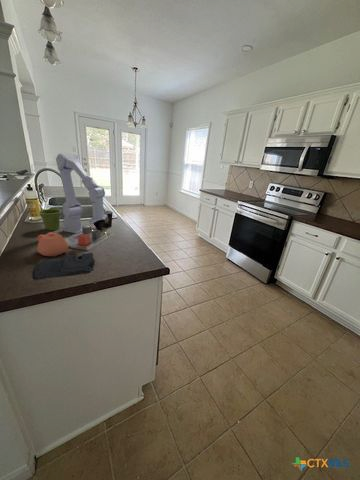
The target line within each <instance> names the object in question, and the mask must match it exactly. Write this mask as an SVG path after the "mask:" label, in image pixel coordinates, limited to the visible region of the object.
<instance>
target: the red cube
mask: <svg viewBox="0 0 360 480" xmlns="http://www.w3.org/2000/svg"><path fill="white" fill-rule="evenodd" d="M78 243H79V244H80V245H87V244H89V243H90V235H88V234H81V235H79V236H78Z"/></svg>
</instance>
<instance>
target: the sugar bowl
mask: <svg viewBox="0 0 360 480" xmlns="http://www.w3.org/2000/svg"><path fill="white" fill-rule="evenodd" d="M37 240H38V241H37V242H38V243H37V252H38V253H39V254H40V255H42V256H45V257H57V256H59V255H62V254H64V253H65V252H67V250H68V249H69V247H68V244H67V242H66V240H65V237H64V236H63V235H61V234H60V233H55V232H54V231H50V232H47V233H46V234H39V235H37Z"/></svg>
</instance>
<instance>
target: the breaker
mask: <svg viewBox="0 0 360 480" xmlns="http://www.w3.org/2000/svg"><path fill="white" fill-rule="evenodd" d="M91 230H92V226H89V225H85V226H83V227H82V231H81V232H83V234H89V233H91Z"/></svg>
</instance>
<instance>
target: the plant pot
mask: <svg viewBox="0 0 360 480" xmlns="http://www.w3.org/2000/svg"><path fill="white" fill-rule="evenodd" d="M61 212H62V210H61V209H56V208H48V209H47V208H46V209H41V210H38V212H37V213H38V214H39V216H40V217H41V220H42V222H43V224H44V228H45V230H47V231H56V230H59V229H60V219H61V217H60V216H61Z"/></svg>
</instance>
